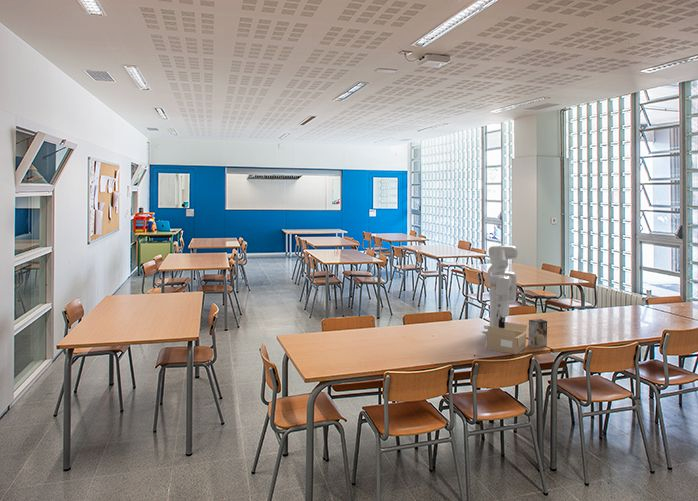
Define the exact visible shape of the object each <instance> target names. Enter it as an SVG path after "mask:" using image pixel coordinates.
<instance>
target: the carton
mask: <svg viewBox="0 0 698 501" xmlns="http://www.w3.org/2000/svg"><path fill="white" fill-rule="evenodd" d="M486 333H487V332H486ZM526 342H527V332H526V331H525V332H522V331H516V330H515V337H509V336H504V335H498V334H492V333H487V334H486V349H488V350H492V351H497V352H501V353H507V354H513V355H518V354H519V353H520V352H522V351H523V350H525V349H526V346H527V345H526Z"/></svg>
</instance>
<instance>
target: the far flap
mask: <svg viewBox="0 0 698 501" xmlns="http://www.w3.org/2000/svg"><path fill="white" fill-rule="evenodd" d="M527 328H528V324H521V323H516V322H508V321H505V329H511V330H516V331H522V332H526V330H527Z"/></svg>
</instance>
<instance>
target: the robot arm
mask: <svg viewBox="0 0 698 501" xmlns="http://www.w3.org/2000/svg"><path fill="white" fill-rule="evenodd" d="M487 252H488V257H489V260H490V262H491V265H490V267H489V268H488V270H487V274H486V275H487V276H486V277H487V278H486V280H487V285H488V287H491V288H490V289H489V291H488V297H489V326H493V327H499V328H505V322H506V318H507V317H509V316H510V303H514V302H515V301H516V299H517V275H516V273H515V272H513V271H506V269H507V268H508V267H509V260H516V259H517V257H518V254H519V253H518V252H519V251H518V249H517V247H516V246H515V245H493V246H489V248H488V250H487ZM487 326H488V325H484V326H483V329H484V330H486V333H488V327H487Z"/></svg>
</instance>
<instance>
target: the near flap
mask: <svg viewBox="0 0 698 501" xmlns="http://www.w3.org/2000/svg"><path fill="white" fill-rule="evenodd" d="M486 326H487V327H488V329H487V330H488V333H492V334H498V335H504V336H509V337H515V330H511V329H505V328H499V327H493V326H490V325H486Z"/></svg>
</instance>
